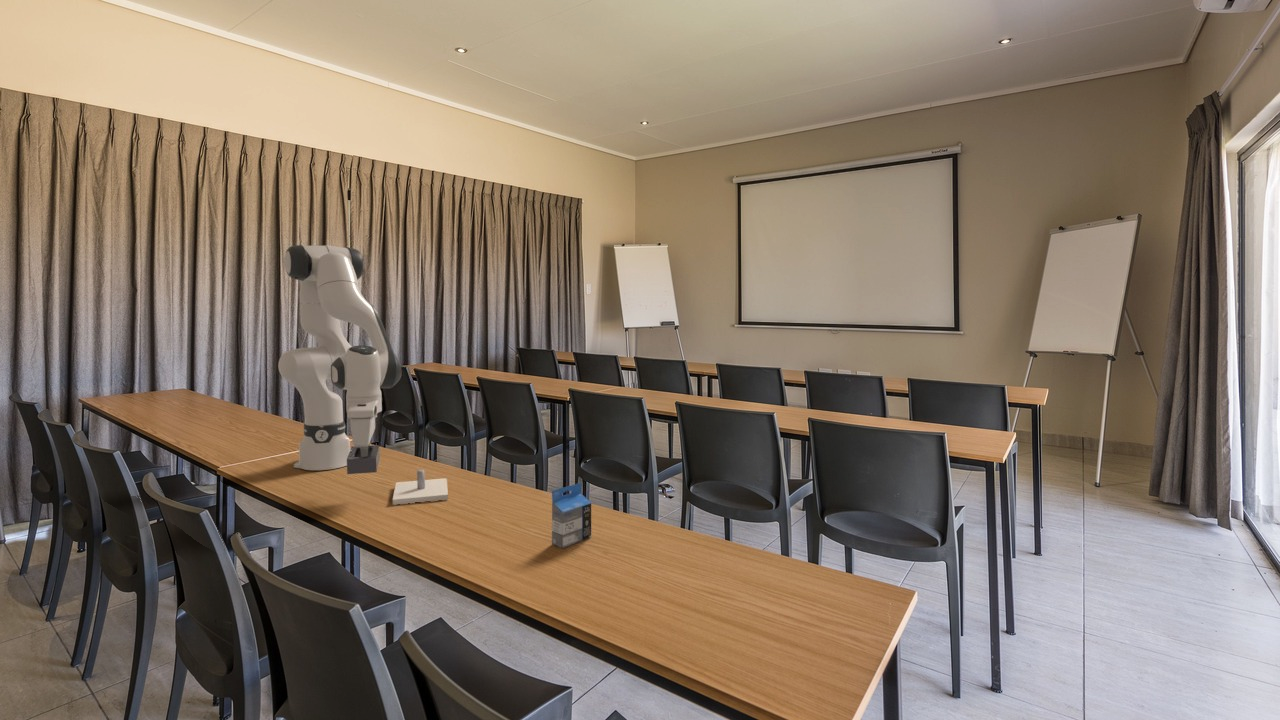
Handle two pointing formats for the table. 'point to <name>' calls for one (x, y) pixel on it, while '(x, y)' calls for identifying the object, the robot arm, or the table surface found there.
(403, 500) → the keeper plate
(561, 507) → the label tape cartridge
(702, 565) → the table surface
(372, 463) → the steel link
